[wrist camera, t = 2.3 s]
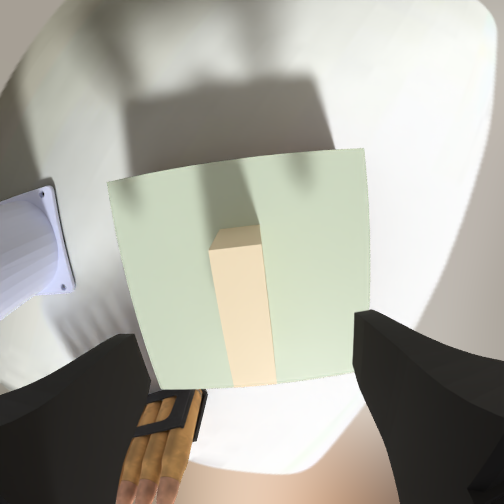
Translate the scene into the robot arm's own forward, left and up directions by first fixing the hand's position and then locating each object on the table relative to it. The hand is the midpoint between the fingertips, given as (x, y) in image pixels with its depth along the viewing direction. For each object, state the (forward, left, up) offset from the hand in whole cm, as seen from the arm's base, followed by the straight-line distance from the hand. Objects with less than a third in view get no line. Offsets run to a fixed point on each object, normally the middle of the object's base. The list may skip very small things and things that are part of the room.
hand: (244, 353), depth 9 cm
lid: (0, 0, -7) cm, 7 cm away
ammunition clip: (-10, -12, -11) cm, 19 cm away
